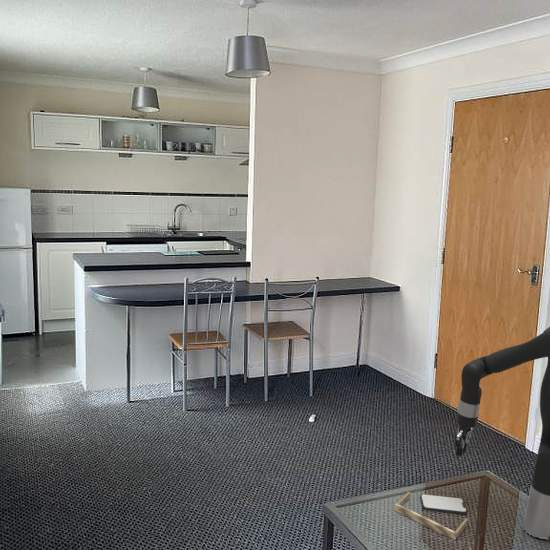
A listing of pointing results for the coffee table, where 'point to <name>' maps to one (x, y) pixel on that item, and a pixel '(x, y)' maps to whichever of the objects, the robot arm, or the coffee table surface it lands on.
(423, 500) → the smartphone
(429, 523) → the wood frame
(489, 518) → the coffee table surface
